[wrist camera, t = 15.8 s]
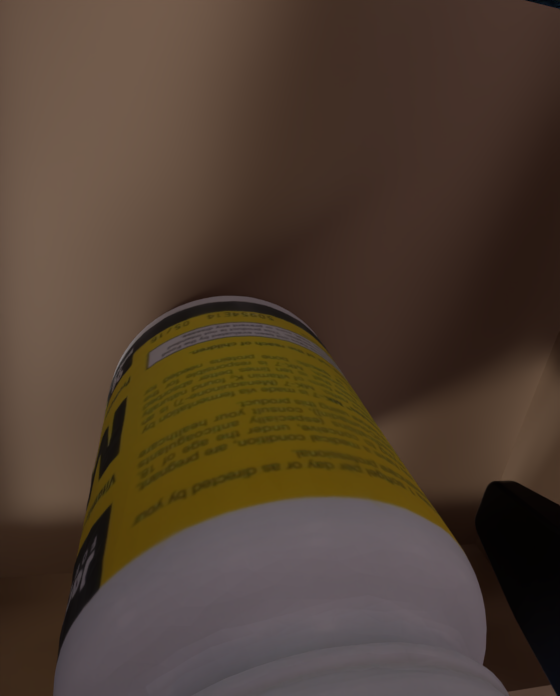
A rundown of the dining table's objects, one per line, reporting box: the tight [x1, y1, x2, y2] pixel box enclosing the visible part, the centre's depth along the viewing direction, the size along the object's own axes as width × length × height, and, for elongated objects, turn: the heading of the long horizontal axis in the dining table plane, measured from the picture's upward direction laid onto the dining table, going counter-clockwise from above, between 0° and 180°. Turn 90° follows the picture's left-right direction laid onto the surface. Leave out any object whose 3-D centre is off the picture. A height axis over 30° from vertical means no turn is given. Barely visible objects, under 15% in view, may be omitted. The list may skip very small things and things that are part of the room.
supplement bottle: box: [53, 296, 509, 696], centre depth 7 cm, size 5×5×8 cm
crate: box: [0, 0, 560, 696], centre depth 9 cm, size 18×14×5 cm
